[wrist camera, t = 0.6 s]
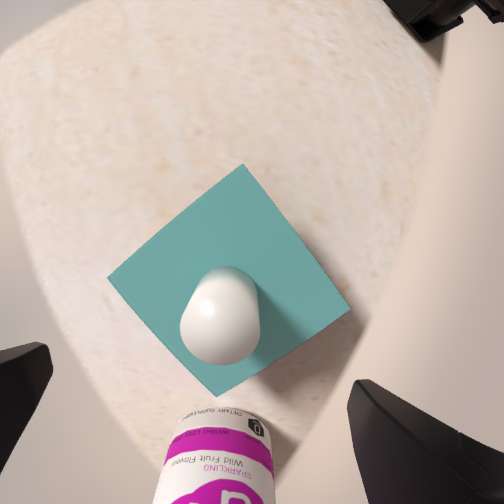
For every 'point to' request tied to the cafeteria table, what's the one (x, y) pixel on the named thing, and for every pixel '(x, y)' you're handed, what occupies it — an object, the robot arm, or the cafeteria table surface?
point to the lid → (229, 285)
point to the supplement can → (217, 460)
